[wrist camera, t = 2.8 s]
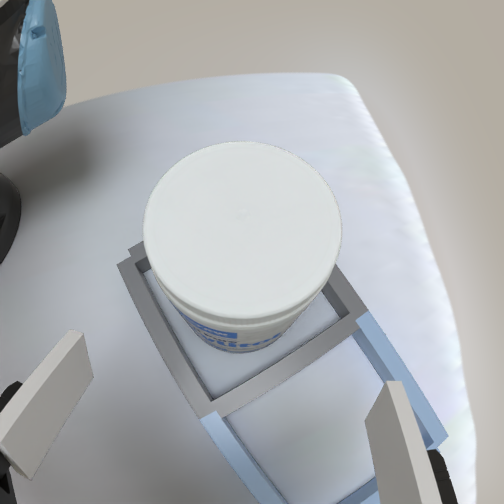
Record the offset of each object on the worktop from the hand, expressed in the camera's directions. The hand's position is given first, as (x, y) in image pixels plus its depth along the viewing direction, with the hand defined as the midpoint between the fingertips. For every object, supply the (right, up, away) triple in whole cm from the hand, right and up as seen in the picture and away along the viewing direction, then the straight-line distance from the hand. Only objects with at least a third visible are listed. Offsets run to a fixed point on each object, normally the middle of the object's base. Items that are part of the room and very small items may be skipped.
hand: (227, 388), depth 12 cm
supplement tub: (0, +1, +15) cm, 16 cm away
